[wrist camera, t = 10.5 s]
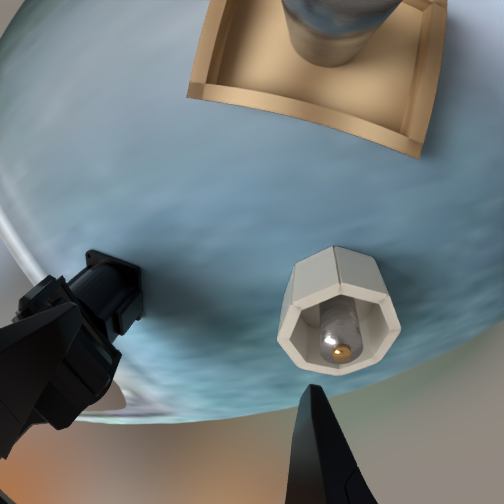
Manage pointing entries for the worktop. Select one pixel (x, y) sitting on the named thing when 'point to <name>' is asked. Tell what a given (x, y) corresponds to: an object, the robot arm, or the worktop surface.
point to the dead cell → (339, 330)
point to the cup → (325, 287)
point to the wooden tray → (326, 71)
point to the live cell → (334, 27)
